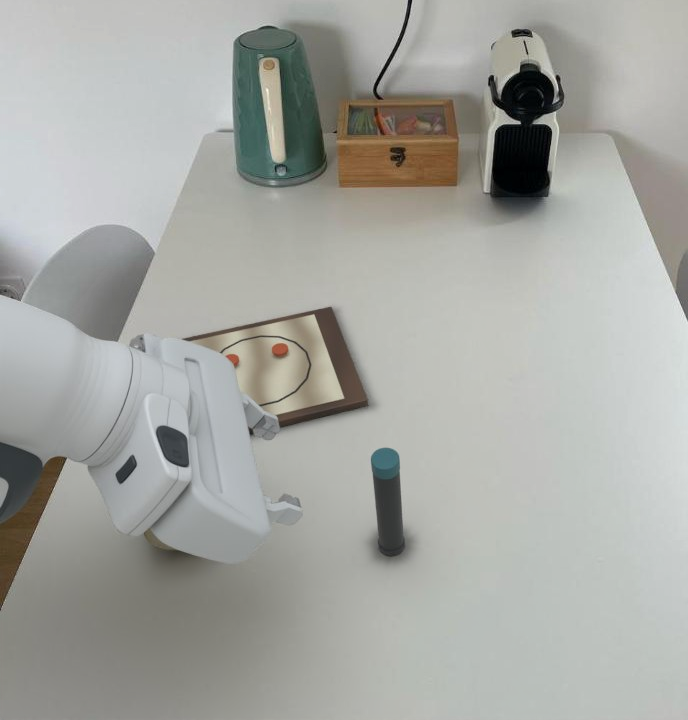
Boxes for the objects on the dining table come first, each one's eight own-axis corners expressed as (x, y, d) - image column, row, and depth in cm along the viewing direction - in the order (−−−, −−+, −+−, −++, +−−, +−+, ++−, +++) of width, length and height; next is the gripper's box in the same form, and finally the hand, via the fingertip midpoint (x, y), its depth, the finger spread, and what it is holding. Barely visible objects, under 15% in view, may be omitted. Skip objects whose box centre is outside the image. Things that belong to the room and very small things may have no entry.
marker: (382, 559, 78) (374, 473, 69) (375, 538, 80) (366, 451, 71) (408, 552, 78) (403, 465, 70) (400, 530, 80) (395, 443, 72)
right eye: (273, 357, 97) (273, 355, 97) (270, 346, 99) (270, 345, 99) (289, 353, 98) (289, 351, 98) (286, 343, 99) (286, 341, 99)
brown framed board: (175, 452, 89) (172, 445, 88) (161, 349, 102) (159, 342, 101) (368, 405, 93) (367, 398, 92) (332, 312, 106) (331, 305, 105)
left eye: (223, 368, 96) (223, 366, 96) (221, 357, 98) (221, 356, 97) (240, 364, 97) (240, 362, 96) (238, 354, 98) (237, 352, 98)
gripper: (107, 353, 67) (243, 408, 76) (119, 553, 53) (285, 593, 61) (149, 300, 65) (284, 363, 74) (173, 493, 51) (338, 543, 59)
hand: (285, 469), depth 67 cm, fingers open, 8 cm apart
